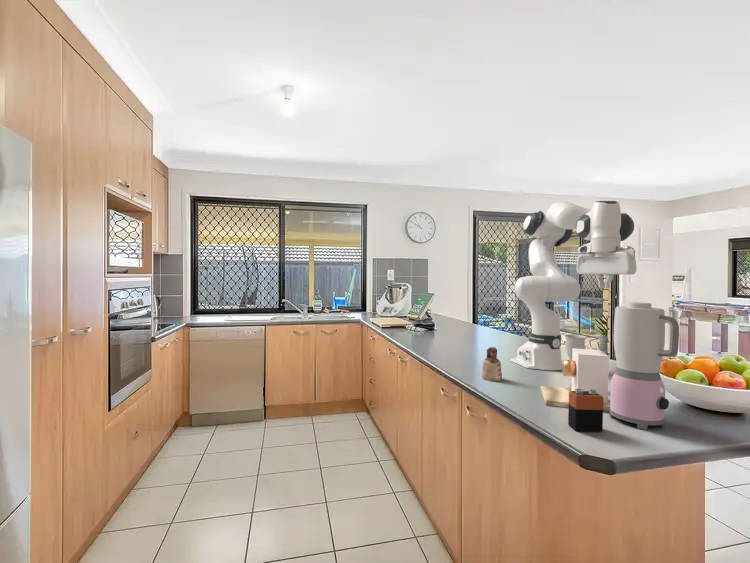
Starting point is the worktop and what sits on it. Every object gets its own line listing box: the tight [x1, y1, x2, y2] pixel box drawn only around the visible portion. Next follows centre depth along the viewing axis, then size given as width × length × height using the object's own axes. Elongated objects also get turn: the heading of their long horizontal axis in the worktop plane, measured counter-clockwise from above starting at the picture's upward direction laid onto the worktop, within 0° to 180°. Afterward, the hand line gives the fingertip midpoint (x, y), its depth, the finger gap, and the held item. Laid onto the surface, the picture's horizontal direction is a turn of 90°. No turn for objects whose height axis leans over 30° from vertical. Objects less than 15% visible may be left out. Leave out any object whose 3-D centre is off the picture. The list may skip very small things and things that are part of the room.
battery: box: [567, 389, 604, 433], centre depth 98 cm, size 4×7×10 cm, turn 89°
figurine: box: [481, 346, 503, 382], centre depth 144 cm, size 7×7×12 cm
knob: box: [561, 359, 576, 378], centre depth 120 cm, size 9×5×5 cm, turn 72°
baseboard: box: [539, 385, 610, 413], centre depth 120 cm, size 18×16×2 cm
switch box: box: [570, 348, 610, 404], centre depth 119 cm, size 8×10×14 cm
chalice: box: [564, 334, 587, 389], centre depth 135 cm, size 7×7×18 cm
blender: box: [609, 301, 680, 430], centre depth 102 cm, size 16×12×32 cm
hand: (604, 287), depth 132 cm, fingers closed
